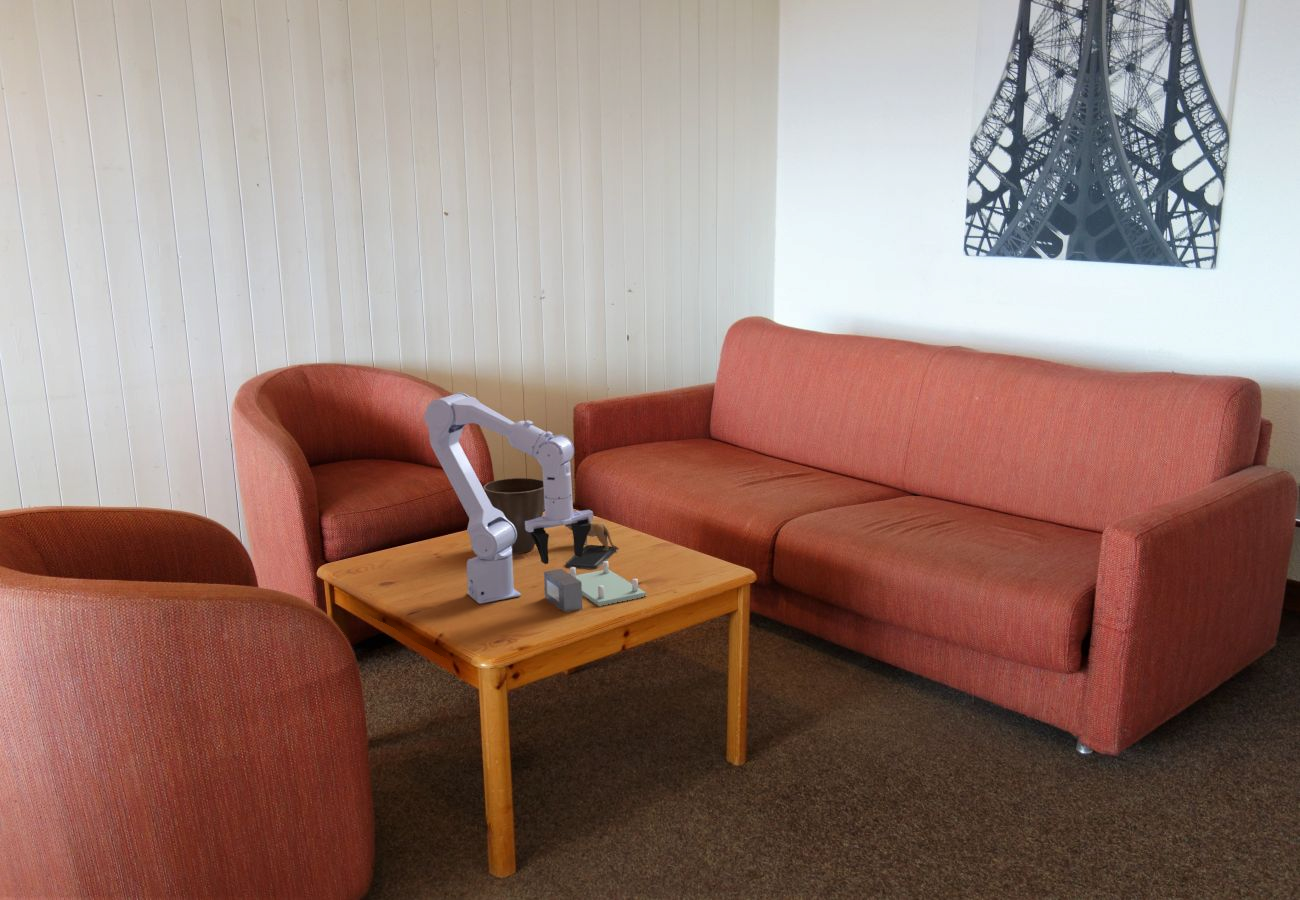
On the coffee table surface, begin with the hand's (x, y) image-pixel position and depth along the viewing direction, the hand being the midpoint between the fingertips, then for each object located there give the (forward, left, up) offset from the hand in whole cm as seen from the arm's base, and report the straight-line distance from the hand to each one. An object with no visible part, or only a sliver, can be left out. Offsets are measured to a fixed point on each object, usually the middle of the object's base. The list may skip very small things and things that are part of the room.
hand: (561, 559), depth 229 cm
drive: (0, 0, -10) cm, 10 cm away
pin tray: (+11, +3, -10) cm, 15 cm away
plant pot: (+6, +40, -10) cm, 42 cm away
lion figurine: (+21, +31, -10) cm, 39 cm away
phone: (+18, +24, -10) cm, 31 cm away
